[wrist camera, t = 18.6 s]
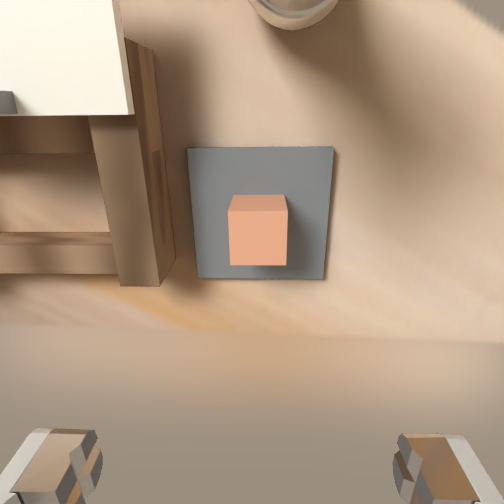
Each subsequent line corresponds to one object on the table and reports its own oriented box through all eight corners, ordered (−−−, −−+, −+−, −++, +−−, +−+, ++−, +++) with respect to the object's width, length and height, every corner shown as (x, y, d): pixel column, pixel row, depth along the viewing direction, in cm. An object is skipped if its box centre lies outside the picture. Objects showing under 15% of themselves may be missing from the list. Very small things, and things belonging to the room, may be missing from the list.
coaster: (199, 273, 30) (197, 278, 30) (188, 147, 26) (186, 148, 25) (321, 274, 30) (323, 278, 29) (332, 146, 26) (334, 147, 25)
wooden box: (-52, 257, 31) (-108, 284, 26) (-135, 56, 24) (-229, 44, 20) (175, 258, 30) (159, 286, 25) (152, 50, 23) (125, 37, 19)
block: (235, 241, 28) (230, 265, 24) (233, 194, 26) (227, 211, 22) (283, 241, 28) (286, 265, 24) (284, 194, 26) (287, 211, 22)
